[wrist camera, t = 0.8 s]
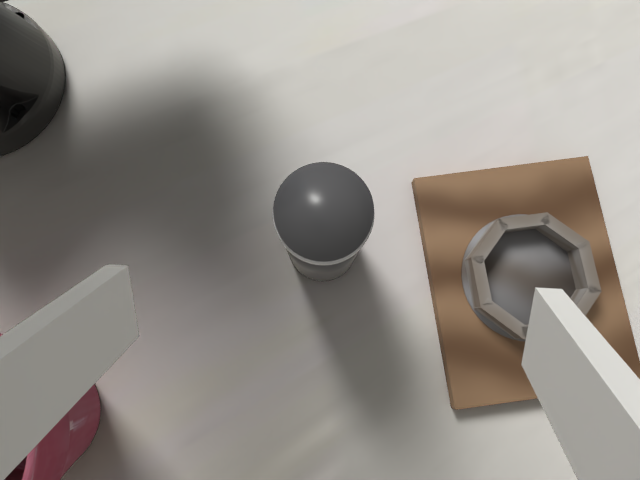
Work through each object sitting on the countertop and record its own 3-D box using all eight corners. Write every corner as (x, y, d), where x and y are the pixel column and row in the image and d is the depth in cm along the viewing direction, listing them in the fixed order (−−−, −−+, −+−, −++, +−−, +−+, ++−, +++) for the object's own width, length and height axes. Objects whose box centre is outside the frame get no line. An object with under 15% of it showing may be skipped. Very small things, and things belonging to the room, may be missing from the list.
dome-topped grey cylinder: (284, 219, 41) (266, 167, 27) (351, 210, 41) (367, 154, 27) (292, 286, 40) (277, 268, 26) (361, 277, 40) (383, 254, 26)
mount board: (411, 182, 41) (419, 171, 38) (580, 160, 42) (601, 147, 39) (451, 407, 38) (462, 414, 35) (635, 381, 38) (663, 386, 35)
